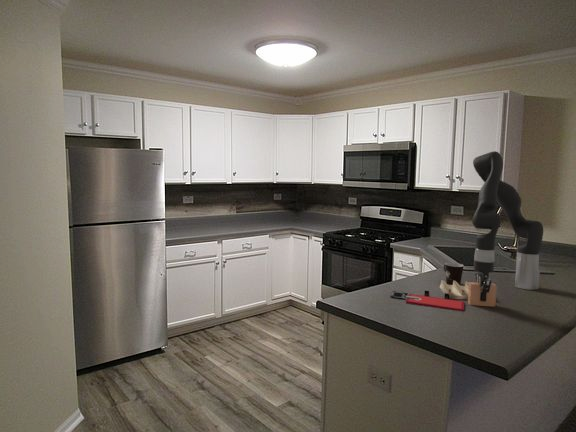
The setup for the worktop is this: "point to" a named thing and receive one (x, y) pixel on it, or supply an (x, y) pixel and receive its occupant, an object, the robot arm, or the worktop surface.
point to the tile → (475, 295)
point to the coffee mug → (453, 272)
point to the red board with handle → (431, 300)
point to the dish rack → (455, 290)
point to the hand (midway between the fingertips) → (481, 299)
